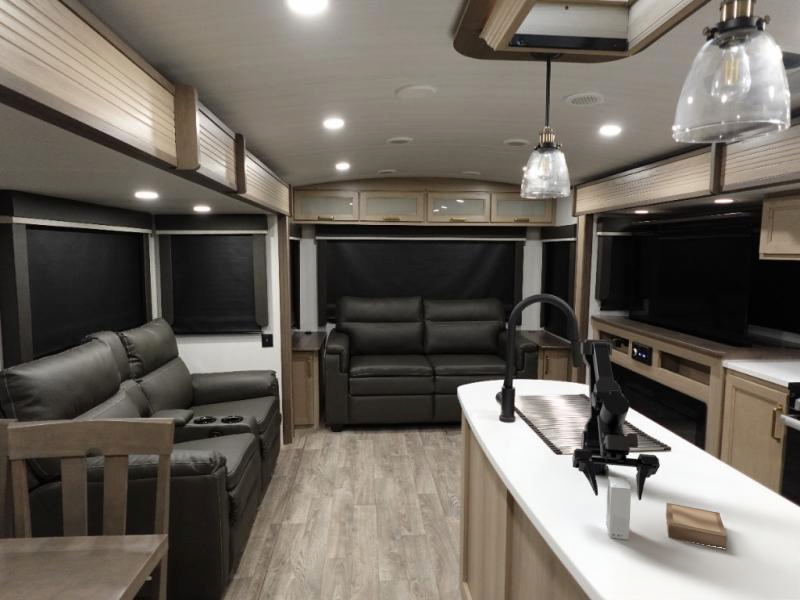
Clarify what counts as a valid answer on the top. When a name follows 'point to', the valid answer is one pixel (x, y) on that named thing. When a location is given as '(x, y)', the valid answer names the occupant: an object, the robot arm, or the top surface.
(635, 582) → the top surface
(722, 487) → the top surface
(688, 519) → the walnut tray
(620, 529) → the skincare box
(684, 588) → the top surface
